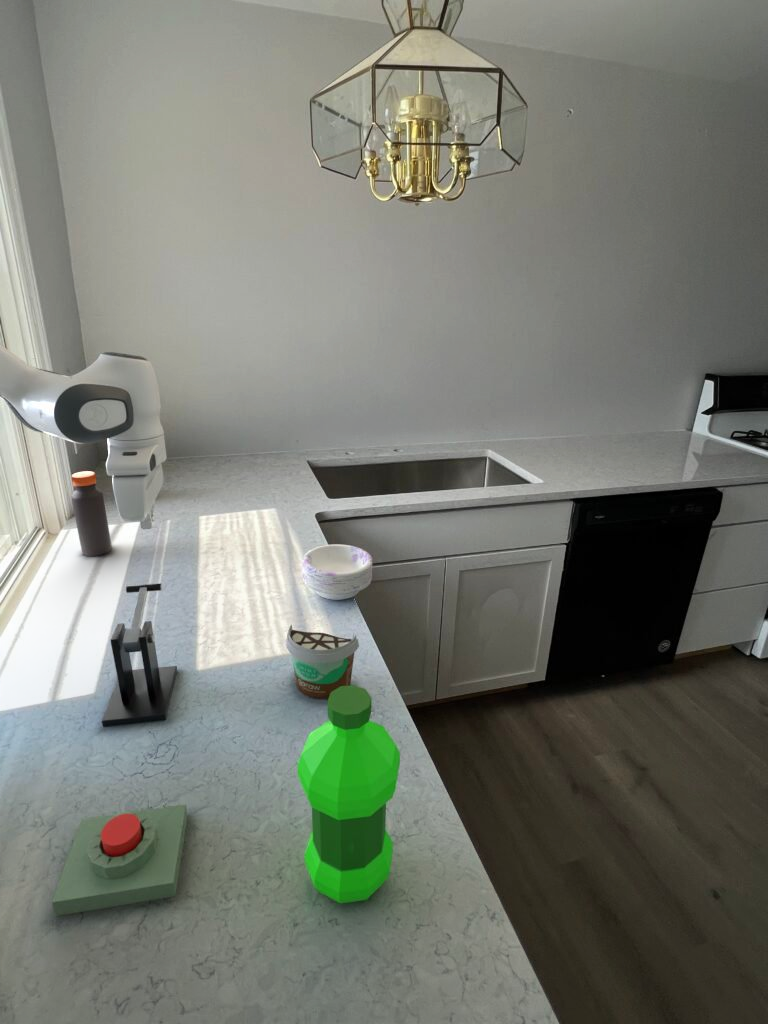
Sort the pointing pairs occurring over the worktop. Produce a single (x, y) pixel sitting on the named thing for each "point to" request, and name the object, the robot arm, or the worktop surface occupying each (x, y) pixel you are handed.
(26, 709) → the worktop surface
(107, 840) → the button
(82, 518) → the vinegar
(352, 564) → the paper bowls
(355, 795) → the plastic bottle
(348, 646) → the food container
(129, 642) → the lever
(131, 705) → the bracket
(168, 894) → the button box
